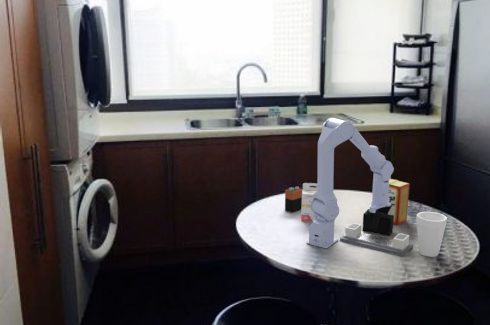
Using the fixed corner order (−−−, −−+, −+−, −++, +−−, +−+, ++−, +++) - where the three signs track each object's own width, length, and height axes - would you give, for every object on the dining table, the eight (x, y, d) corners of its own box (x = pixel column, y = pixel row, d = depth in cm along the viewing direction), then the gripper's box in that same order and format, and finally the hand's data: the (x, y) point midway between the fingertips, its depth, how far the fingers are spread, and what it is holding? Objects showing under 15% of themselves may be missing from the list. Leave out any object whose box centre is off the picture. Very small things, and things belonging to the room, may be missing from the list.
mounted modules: (402, 249, 168) (403, 240, 167) (345, 235, 180) (345, 227, 179) (408, 243, 172) (409, 234, 172) (352, 230, 184) (352, 222, 184)
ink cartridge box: (301, 221, 198) (302, 186, 194) (301, 217, 203) (301, 182, 199) (323, 222, 197) (324, 186, 194) (322, 218, 202) (323, 183, 198)
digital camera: (394, 231, 187) (395, 214, 186) (389, 236, 183) (391, 218, 181) (367, 226, 193) (368, 209, 191) (362, 231, 188) (363, 213, 187)
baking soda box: (406, 221, 198) (409, 182, 194) (397, 225, 193) (400, 185, 190) (385, 215, 205) (388, 177, 201) (376, 219, 200) (378, 180, 196)
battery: (284, 210, 211) (284, 187, 209) (295, 207, 215) (296, 184, 213) (291, 213, 208) (291, 190, 205) (303, 209, 212) (303, 187, 209)
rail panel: (403, 256, 166) (403, 251, 165) (339, 240, 179) (340, 236, 179) (413, 246, 174) (413, 242, 173) (351, 232, 187) (351, 228, 186)
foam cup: (420, 244, 175) (423, 209, 172) (447, 251, 169) (450, 215, 166) (409, 253, 168) (412, 217, 165) (437, 261, 162) (441, 223, 159)
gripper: (383, 197, 176) (381, 233, 180) (398, 188, 188) (395, 222, 191) (364, 194, 180) (363, 229, 184) (380, 185, 192) (378, 218, 195)
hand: (378, 225), depth 188 cm, fingers open, 7 cm apart
